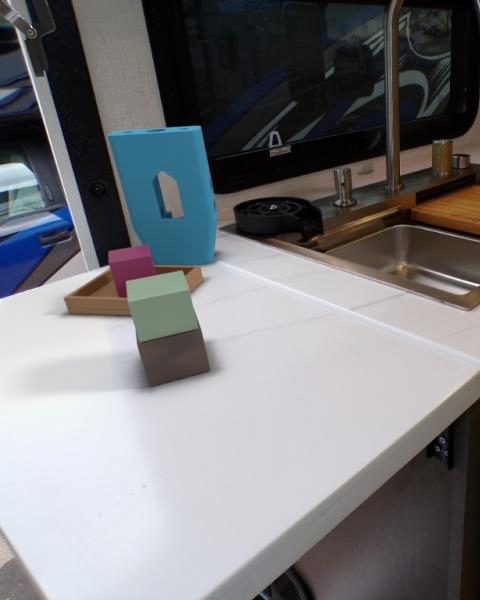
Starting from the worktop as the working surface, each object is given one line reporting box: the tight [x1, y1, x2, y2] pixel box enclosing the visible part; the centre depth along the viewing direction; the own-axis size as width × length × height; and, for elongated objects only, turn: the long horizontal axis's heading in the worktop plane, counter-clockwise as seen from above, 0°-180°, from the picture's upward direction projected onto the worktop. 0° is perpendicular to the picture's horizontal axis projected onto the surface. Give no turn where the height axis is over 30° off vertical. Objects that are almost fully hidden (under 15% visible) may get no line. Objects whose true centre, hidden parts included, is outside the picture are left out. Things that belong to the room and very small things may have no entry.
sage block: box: [126, 270, 198, 343], centre depth 53 cm, size 6×6×4 cm
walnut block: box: [134, 308, 211, 388], centre depth 55 cm, size 6×6×5 cm
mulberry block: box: [107, 244, 156, 298], centre depth 71 cm, size 5×5×6 cm
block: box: [107, 125, 219, 266], centre depth 79 cm, size 12×5×20 cm, turn 102°
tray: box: [63, 265, 204, 317], centre depth 72 cm, size 13×11×2 cm
